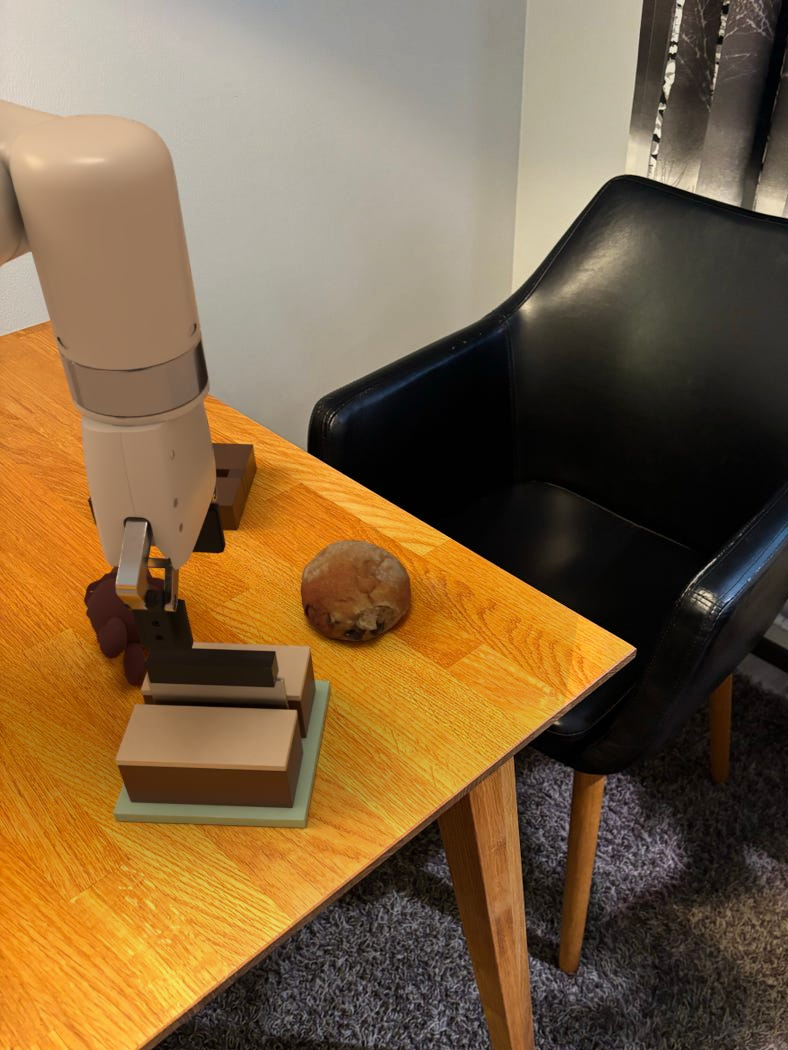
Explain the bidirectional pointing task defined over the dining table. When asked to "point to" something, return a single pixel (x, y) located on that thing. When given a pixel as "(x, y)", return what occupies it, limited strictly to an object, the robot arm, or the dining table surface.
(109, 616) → the icecream
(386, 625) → the bread roll
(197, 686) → the beige black-topped panel
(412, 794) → the dining table surface
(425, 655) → the dining table surface
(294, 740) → the paired blocks on tray
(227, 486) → the brown slotted block
